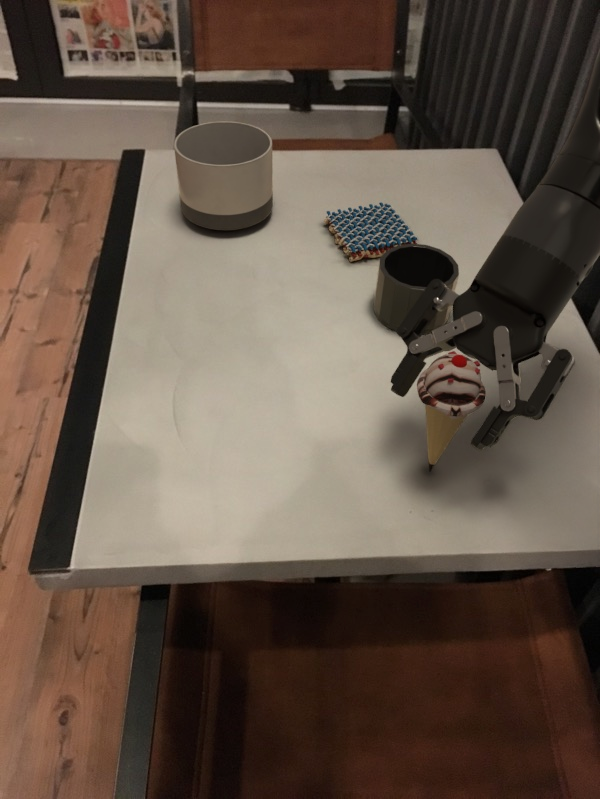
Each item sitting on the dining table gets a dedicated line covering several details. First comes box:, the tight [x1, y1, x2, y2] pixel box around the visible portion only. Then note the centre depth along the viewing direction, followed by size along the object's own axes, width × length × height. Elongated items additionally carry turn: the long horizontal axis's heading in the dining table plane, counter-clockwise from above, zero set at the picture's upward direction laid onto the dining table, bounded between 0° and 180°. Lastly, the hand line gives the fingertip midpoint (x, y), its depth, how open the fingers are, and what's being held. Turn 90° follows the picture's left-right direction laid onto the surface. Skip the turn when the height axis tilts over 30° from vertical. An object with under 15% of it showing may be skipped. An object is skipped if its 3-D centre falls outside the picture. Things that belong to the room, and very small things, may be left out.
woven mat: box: [323, 202, 420, 263], centre depth 93 cm, size 10×11×2 cm
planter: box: [173, 120, 274, 231], centre depth 93 cm, size 13×13×10 cm
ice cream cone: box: [416, 350, 487, 473], centre depth 60 cm, size 6×6×15 cm
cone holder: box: [373, 243, 460, 335], centre depth 80 cm, size 9×9×6 cm
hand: (435, 419), depth 59 cm, fingers open, 8 cm apart
